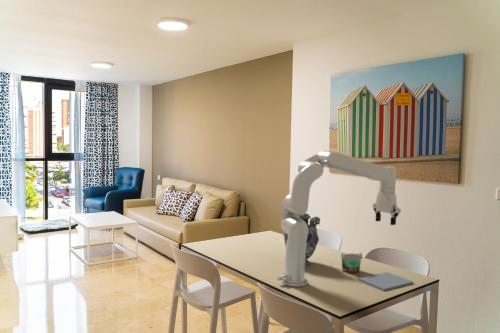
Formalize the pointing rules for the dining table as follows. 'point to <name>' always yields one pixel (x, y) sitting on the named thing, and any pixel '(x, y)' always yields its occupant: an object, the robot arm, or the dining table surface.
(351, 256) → the food container
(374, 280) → the slate mat
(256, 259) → the dining table surface
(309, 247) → the decorative vase
